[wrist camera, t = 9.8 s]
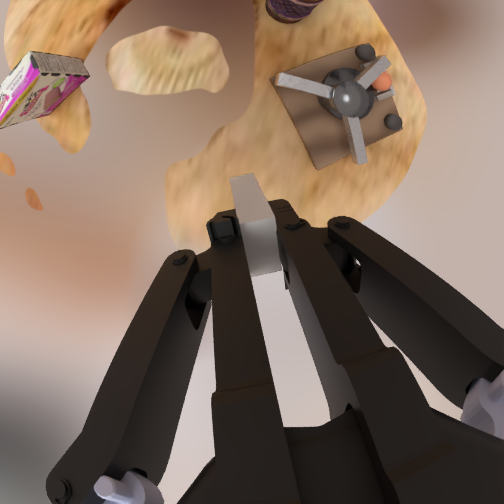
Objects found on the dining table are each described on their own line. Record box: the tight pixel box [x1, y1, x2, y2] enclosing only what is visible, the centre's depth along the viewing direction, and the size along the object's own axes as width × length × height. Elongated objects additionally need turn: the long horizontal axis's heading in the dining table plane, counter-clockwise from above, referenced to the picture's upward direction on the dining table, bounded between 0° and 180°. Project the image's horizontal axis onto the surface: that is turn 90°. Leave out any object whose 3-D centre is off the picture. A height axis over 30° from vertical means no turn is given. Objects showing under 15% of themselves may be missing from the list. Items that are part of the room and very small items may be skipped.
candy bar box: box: [0, 51, 90, 129], centre depth 24 cm, size 11×5×16 cm, turn 116°
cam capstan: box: [275, 55, 391, 165], centre depth 36 cm, size 19×16×8 cm
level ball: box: [371, 71, 392, 91], centre depth 35 cm, size 4×4×4 cm
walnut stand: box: [270, 43, 403, 170], centre depth 39 cm, size 18×20×4 cm
